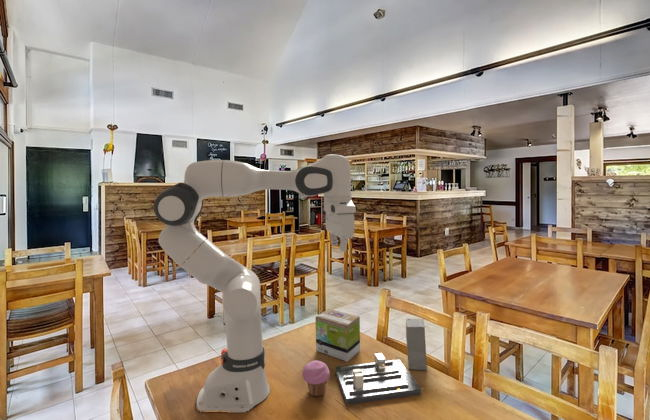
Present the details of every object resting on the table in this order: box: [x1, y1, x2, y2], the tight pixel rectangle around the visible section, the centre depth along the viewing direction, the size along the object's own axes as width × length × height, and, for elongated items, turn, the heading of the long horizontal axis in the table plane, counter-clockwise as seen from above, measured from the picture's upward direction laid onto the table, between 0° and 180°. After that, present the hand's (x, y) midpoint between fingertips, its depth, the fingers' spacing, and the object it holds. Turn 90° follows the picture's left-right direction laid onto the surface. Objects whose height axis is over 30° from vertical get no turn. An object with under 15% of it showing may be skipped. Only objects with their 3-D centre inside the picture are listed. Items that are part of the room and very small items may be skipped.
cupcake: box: [302, 359, 331, 397], centre depth 109 cm, size 9×9×10 cm
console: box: [334, 352, 422, 406], centre depth 114 cm, size 24×18×7 cm
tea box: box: [315, 308, 361, 363], centre depth 135 cm, size 15×10×15 cm, turn 55°
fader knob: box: [353, 369, 364, 390], centre depth 108 cm, size 2×4×5 cm, turn 9°
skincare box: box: [405, 318, 428, 371], centre depth 124 cm, size 8×7×16 cm
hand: (338, 248), depth 110 cm, fingers open, 8 cm apart
